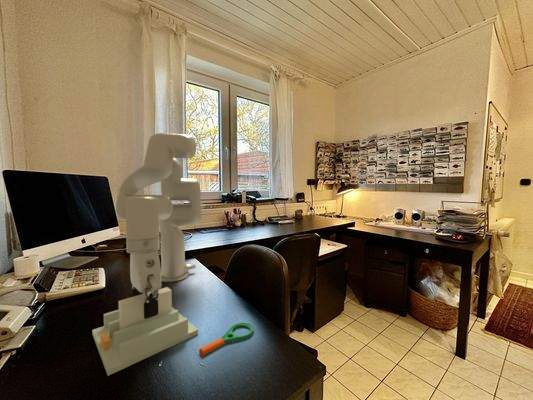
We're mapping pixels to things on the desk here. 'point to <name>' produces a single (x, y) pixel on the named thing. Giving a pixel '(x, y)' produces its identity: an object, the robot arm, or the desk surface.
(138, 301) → the panel
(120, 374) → the desk surface
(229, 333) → the magnifying glass
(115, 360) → the rack
